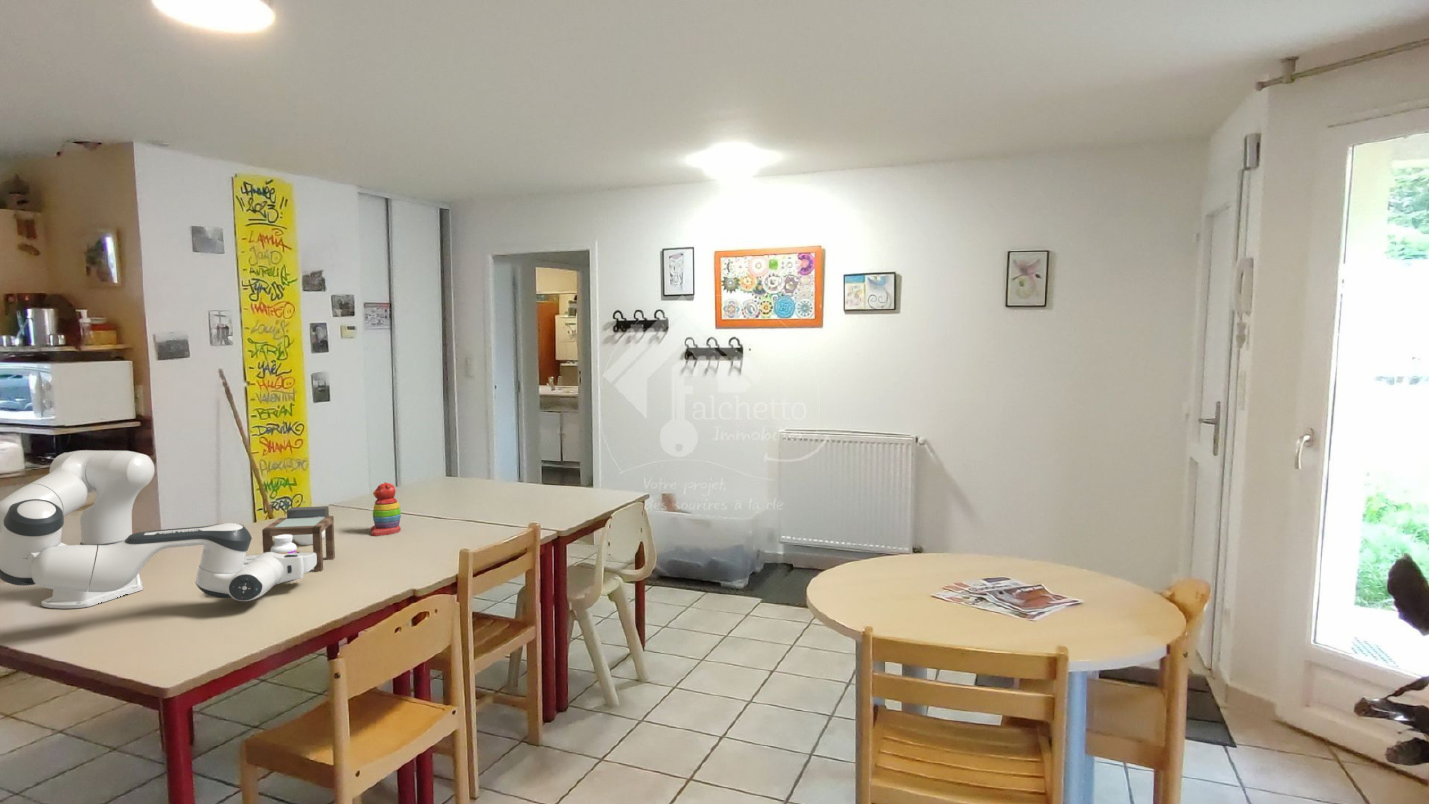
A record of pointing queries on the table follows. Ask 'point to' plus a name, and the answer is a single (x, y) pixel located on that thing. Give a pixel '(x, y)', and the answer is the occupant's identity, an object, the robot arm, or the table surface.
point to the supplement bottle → (284, 545)
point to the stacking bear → (385, 511)
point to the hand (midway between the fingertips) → (285, 555)
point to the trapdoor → (304, 516)
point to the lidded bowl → (306, 538)
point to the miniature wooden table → (316, 530)
